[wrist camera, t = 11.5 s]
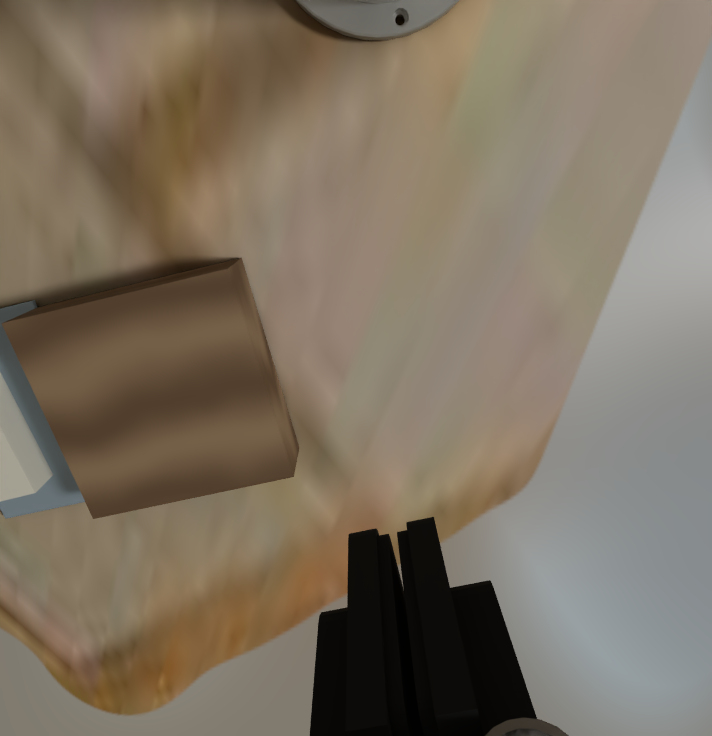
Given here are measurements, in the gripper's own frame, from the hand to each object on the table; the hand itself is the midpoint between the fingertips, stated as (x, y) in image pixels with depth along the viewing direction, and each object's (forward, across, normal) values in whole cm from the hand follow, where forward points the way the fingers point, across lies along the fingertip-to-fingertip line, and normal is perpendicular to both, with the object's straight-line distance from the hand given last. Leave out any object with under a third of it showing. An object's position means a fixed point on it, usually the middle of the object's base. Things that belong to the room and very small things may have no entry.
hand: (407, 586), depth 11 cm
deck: (+27, +14, +3) cm, 31 cm away
